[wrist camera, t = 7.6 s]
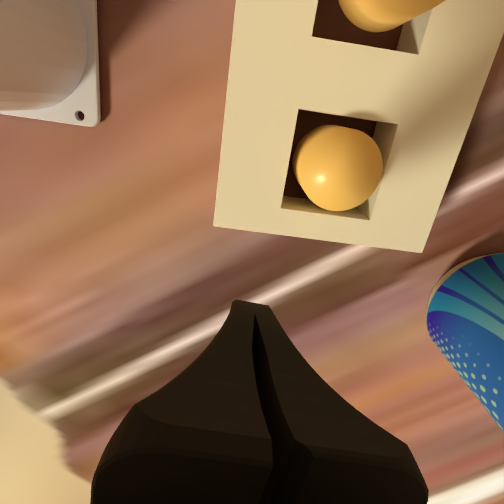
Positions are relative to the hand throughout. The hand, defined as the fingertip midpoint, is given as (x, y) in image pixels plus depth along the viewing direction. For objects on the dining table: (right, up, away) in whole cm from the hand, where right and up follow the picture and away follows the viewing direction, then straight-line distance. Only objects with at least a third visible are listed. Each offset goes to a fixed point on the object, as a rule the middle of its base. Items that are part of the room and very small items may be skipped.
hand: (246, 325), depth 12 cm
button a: (+5, +8, +7) cm, 12 cm away
